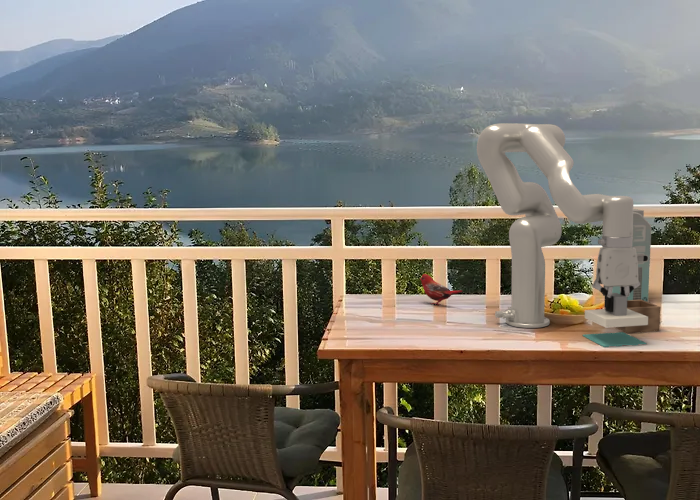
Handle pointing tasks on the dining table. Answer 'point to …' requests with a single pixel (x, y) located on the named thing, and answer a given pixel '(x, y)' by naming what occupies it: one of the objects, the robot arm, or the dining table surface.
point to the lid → (617, 314)
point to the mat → (613, 339)
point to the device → (640, 255)
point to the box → (647, 310)
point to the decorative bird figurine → (435, 289)
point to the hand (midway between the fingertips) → (615, 310)
